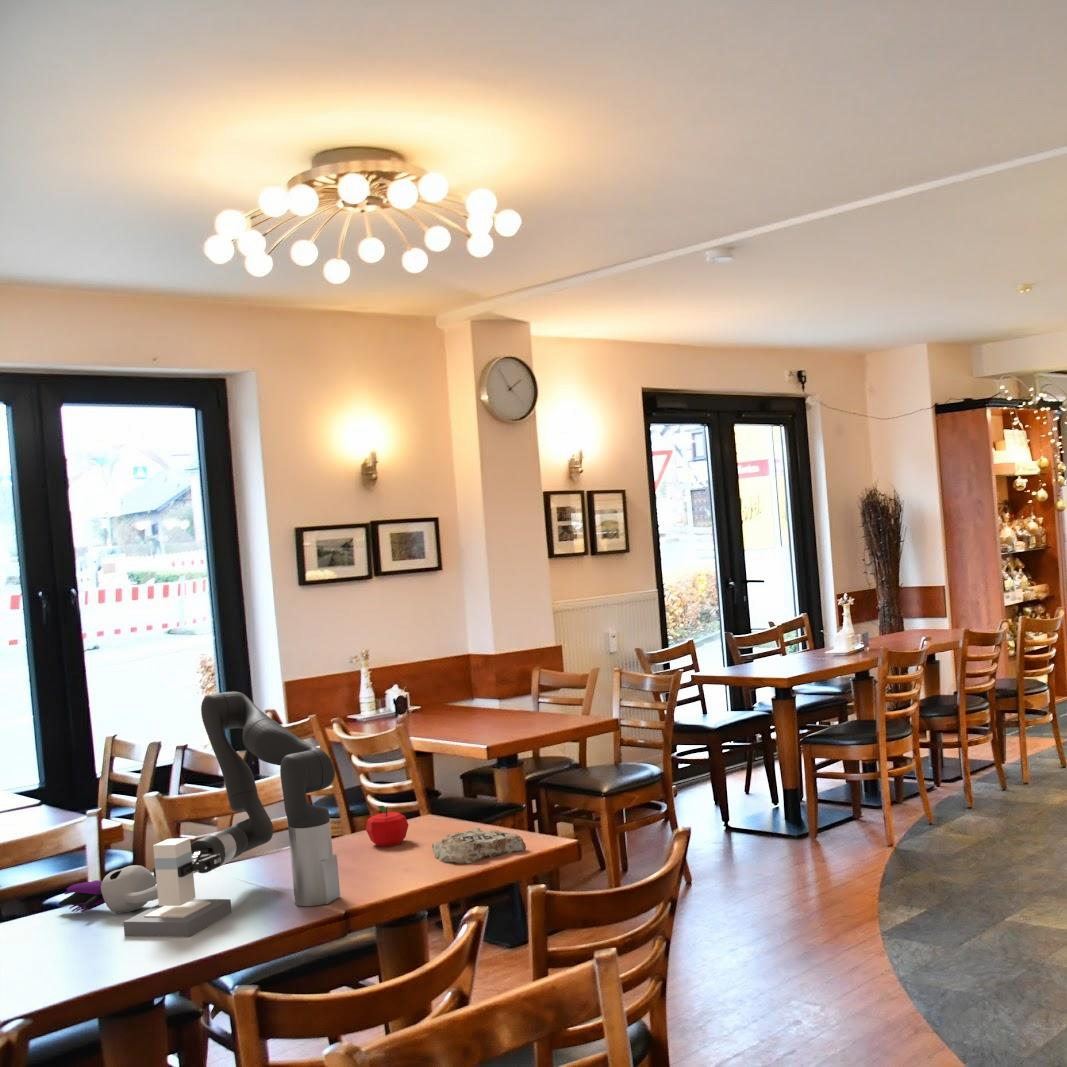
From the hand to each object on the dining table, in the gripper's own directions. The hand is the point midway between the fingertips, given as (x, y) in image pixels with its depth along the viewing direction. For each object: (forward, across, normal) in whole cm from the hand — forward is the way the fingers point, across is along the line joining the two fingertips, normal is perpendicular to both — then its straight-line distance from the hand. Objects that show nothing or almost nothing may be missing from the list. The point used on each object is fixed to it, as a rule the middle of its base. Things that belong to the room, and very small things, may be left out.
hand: (167, 872), depth 257 cm
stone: (-61, +44, +13) cm, 76 cm away
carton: (-3, 0, +7) cm, 7 cm away
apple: (-69, +18, +12) cm, 73 cm away
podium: (-2, 0, +12) cm, 12 cm away
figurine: (-11, -22, +12) cm, 28 cm away
